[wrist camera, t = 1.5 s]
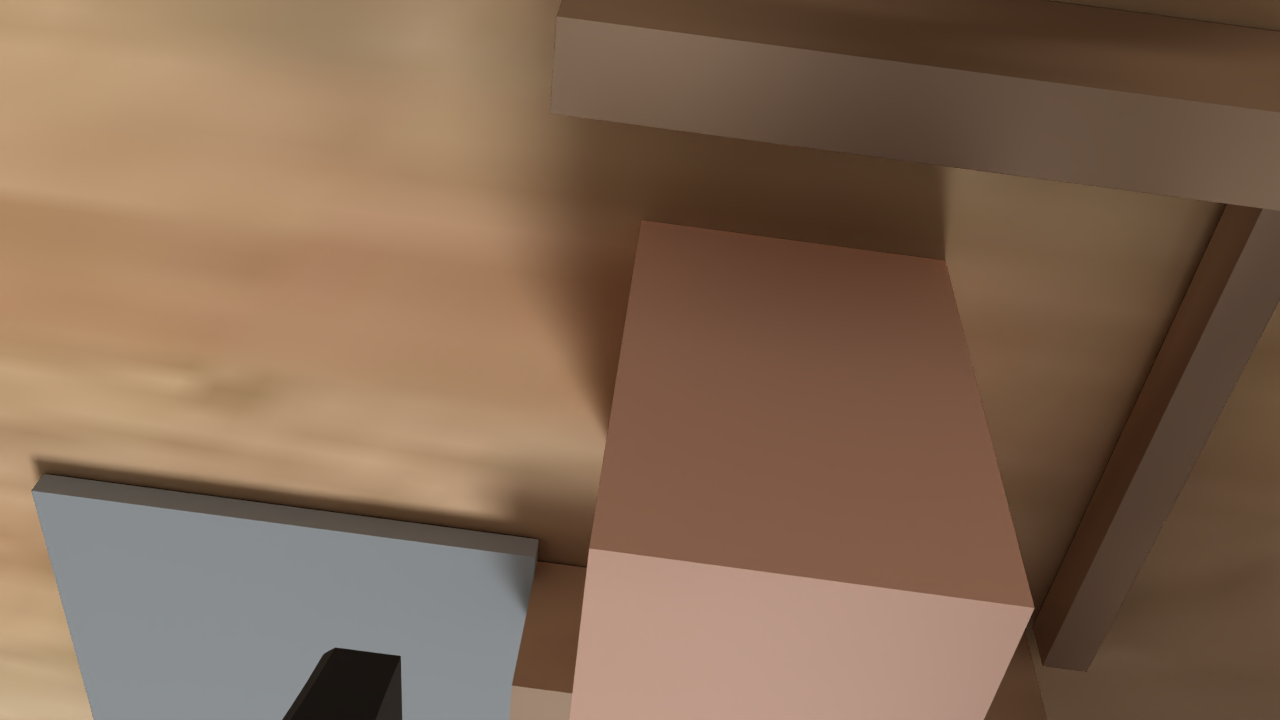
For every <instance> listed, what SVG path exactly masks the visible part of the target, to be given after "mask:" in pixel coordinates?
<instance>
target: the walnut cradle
mask: <svg viewBox="0 0 1280 720" xmlns="http://www.w3.org/2000/svg"><path fill="white" fill-rule="evenodd" d="M550 114H557V115H564V116H572V117H579V118H587V119H594V120H602V121H609V122H617V123H624V124H632V125H639V126H647V127H654V128H662V129H669V130H677V131H684V132H692V133H699V134H707V135H714V136H722V137H729V138H737V139H744V140H752V141H759V142H767V143H774V144H782V145H790V146H797V147H805V148H812V149H820V150H827V151H835V152H842V153H850V154H857V155H865V156H872V157H880V158H887V159H895V160H902V161H910V162H917V163H925V164H932V165H940V166H947V167H955V168H962V169H970V170H977V171H985V172H992V173H1000V174H1007V175H1015V176H1022V177H1030V178H1037V179H1045V180H1052V181H1060V182H1067V183H1075V184H1083V185H1090V186H1098V187H1105V188H1113V189H1120V190H1128V191H1135V192H1143V193H1150V194H1158V195H1165V196H1173V197H1180V198H1188V199H1195V200H1203V201H1210V202H1218V203H1225V204H1227V205H1226V207H1225V210H1224V212H1223V214H1222V216H1221V218H1220V221H1219V223H1218V225H1217V227H1216V229H1215V231H1214V234H1213V236H1212V238H1211V240H1210V242H1209V244H1208V247H1207V249H1206V251H1205V253H1204V255H1203V258H1202V260H1201V262H1200V264H1199V266H1198V268H1197V271H1196V273H1195V275H1194V277H1193V279H1192V281H1191V284H1190V286H1189V288H1188V290H1187V292H1186V294H1185V297H1184V299H1183V301H1182V303H1181V305H1180V308H1179V310H1178V312H1177V314H1176V316H1175V318H1174V321H1173V323H1172V325H1171V327H1170V329H1169V331H1168V334H1167V336H1166V338H1165V340H1164V342H1163V345H1162V347H1161V349H1160V351H1159V353H1158V355H1157V358H1156V360H1155V362H1154V364H1153V366H1152V368H1151V371H1150V373H1149V375H1148V377H1147V379H1146V382H1145V384H1144V386H1143V388H1142V390H1141V392H1140V395H1139V397H1138V399H1137V401H1136V403H1135V405H1134V408H1133V410H1132V412H1131V414H1130V416H1129V418H1128V421H1127V423H1126V425H1125V427H1124V429H1123V432H1122V434H1121V436H1120V438H1119V440H1118V442H1117V445H1116V447H1115V449H1114V451H1113V453H1112V455H1111V458H1110V460H1109V462H1108V464H1107V466H1106V469H1105V471H1104V473H1103V475H1102V477H1101V479H1100V482H1099V484H1098V486H1097V488H1096V490H1095V492H1094V495H1093V497H1092V499H1091V501H1090V503H1089V506H1088V508H1087V510H1086V512H1085V514H1084V516H1083V519H1082V521H1081V523H1080V525H1079V527H1078V529H1077V532H1076V534H1075V536H1074V538H1073V540H1072V542H1071V545H1070V547H1069V549H1068V551H1067V553H1066V556H1065V558H1064V560H1063V562H1062V564H1061V566H1060V569H1059V571H1058V573H1057V575H1056V577H1055V579H1054V582H1053V584H1052V586H1051V588H1050V590H1049V593H1048V595H1047V597H1046V599H1045V601H1044V603H1043V606H1042V608H1041V610H1040V612H1039V614H1038V616H1037V619H1036V621H1035V623H1034V625H1033V630H1034V634H1035V638H1036V642H1037V646H1038V649H1039V653H1040V657H1041V661H1042V665H1043V666H1047V667H1055V668H1062V669H1070V670H1077V671H1085V672H1087V670H1088V668H1089V666H1090V664H1091V663H1092V661H1093V659H1094V657H1095V655H1096V653H1097V651H1098V649H1099V647H1100V645H1101V643H1102V641H1103V639H1104V637H1105V636H1106V634H1107V632H1108V630H1109V628H1110V626H1111V624H1112V622H1113V620H1114V618H1115V616H1116V614H1117V612H1118V610H1119V609H1120V607H1121V605H1122V603H1123V601H1124V599H1125V597H1126V595H1127V593H1128V591H1129V589H1130V587H1131V585H1132V583H1133V582H1134V580H1135V578H1136V576H1137V574H1138V572H1139V570H1140V568H1141V566H1142V564H1143V562H1144V560H1145V558H1146V556H1147V554H1148V553H1149V551H1150V549H1151V547H1152V545H1153V543H1154V541H1155V539H1156V537H1157V535H1158V533H1159V531H1160V529H1161V527H1162V526H1163V524H1164V522H1165V520H1166V518H1167V516H1168V514H1169V512H1170V510H1171V508H1172V506H1173V504H1174V502H1175V500H1176V499H1177V497H1178V495H1179V493H1180V491H1181V489H1182V487H1183V485H1184V483H1185V481H1186V479H1187V477H1188V475H1189V473H1190V472H1191V470H1192V468H1193V466H1194V464H1195V462H1196V460H1197V458H1198V456H1199V454H1200V452H1201V450H1202V448H1203V446H1204V445H1205V443H1206V441H1207V439H1208V437H1209V435H1210V433H1211V431H1212V429H1213V427H1214V425H1215V423H1216V421H1217V419H1218V418H1219V416H1220V414H1221V412H1222V410H1223V408H1224V406H1225V404H1226V402H1227V400H1228V398H1229V396H1230V394H1231V392H1232V391H1233V389H1234V387H1235V385H1236V383H1237V381H1238V379H1239V377H1240V375H1241V373H1242V371H1243V369H1244V367H1245V365H1246V364H1247V362H1248V360H1249V358H1250V356H1251V354H1252V352H1253V350H1254V348H1255V346H1256V344H1257V342H1258V340H1259V338H1260V337H1261V335H1262V333H1263V331H1264V329H1265V327H1266V325H1267V323H1268V321H1269V319H1270V317H1271V315H1272V313H1273V311H1274V309H1275V308H1276V306H1277V304H1278V302H1279V300H1280V32H1279V31H1271V30H1264V29H1256V28H1249V27H1241V26H1234V25H1226V24H1219V23H1211V22H1204V21H1196V20H1189V19H1181V18H1174V17H1167V16H1159V15H1152V14H1144V13H1137V12H1129V11H1122V10H1114V9H1107V8H1099V7H1092V6H1084V5H1077V4H1069V3H1062V2H1054V1H1047V0H563V1H562V3H561V6H560V9H559V11H558V14H557V16H556V31H555V46H554V61H553V76H552V91H551V106H550ZM586 572H587V568H585V567H577V566H570V565H562V564H554V563H547V562H539V561H537V564H536V569H535V574H534V579H533V584H532V589H531V593H530V598H529V603H528V608H527V613H526V618H525V623H524V628H523V633H522V638H521V643H520V648H519V652H518V657H517V662H516V667H515V672H514V677H513V682H512V689H511V704H510V719H509V720H569V719H570V710H571V701H572V693H573V684H574V675H575V667H576V658H577V649H578V641H579V632H580V623H581V615H582V606H583V598H584V589H585V580H586ZM984 720H1047V718H1046V714H1045V710H1044V706H1043V702H1042V698H1041V694H1040V690H1039V686H1038V682H1037V678H1036V674H1035V670H1034V666H1033V662H1032V658H1031V653H1030V649H1029V645H1028V641H1027V637H1026V633H1025V630H1024V633H1023V635H1022V637H1021V639H1020V641H1019V643H1018V646H1017V648H1016V650H1015V652H1014V654H1013V657H1012V659H1011V661H1010V663H1009V665H1008V668H1007V670H1006V672H1005V674H1004V676H1003V679H1002V681H1001V683H1000V685H999V687H998V690H997V692H996V694H995V696H994V698H993V701H992V703H991V705H990V707H989V709H988V712H987V714H986V716H985V718H984Z"/></svg>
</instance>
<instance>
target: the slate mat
mask: <svg viewBox="0 0 1280 720" xmlns="http://www.w3.org/2000/svg"><path fill="white" fill-rule="evenodd" d="M32 495H33V499H34V502H35V506H36V510H37V513H38V517H39V521H40V524H41V528H42V532H43V535H44V539H45V543H46V546H47V550H48V554H49V557H50V561H51V565H52V568H53V572H54V576H55V579H56V583H57V587H58V590H59V594H60V598H61V601H62V605H63V609H64V612H65V616H66V620H67V623H68V627H69V631H70V634H71V638H72V642H73V645H74V649H75V653H76V656H77V660H78V664H79V667H80V671H81V675H82V678H83V682H84V686H85V689H86V693H87V697H88V700H89V704H90V707H91V711H92V715H93V718H94V720H282V719H283V718H284V716H285V715H286V713H287V712H288V710H289V709H290V707H291V706H292V704H293V702H294V701H295V699H296V698H297V696H298V695H299V693H300V692H301V690H302V688H303V687H304V685H305V684H306V682H307V681H308V679H309V677H310V676H311V674H312V672H313V671H314V669H315V667H316V666H317V664H318V662H319V661H320V659H321V657H322V655H323V654H324V653H326V652H328V651H330V650H331V649H333V648H335V647H336V648H344V649H351V650H359V651H367V652H374V653H382V654H390V655H398V656H401V683H402V720H509V719H510V704H511V689H512V682H513V677H514V672H515V667H516V662H517V657H518V652H519V648H520V643H521V638H522V633H523V628H524V623H525V618H526V613H527V608H528V603H529V598H530V593H531V589H532V584H533V579H534V574H535V569H536V564H537V556H538V543H539V539H532V538H524V537H517V536H509V535H502V534H494V533H487V532H479V531H471V530H464V529H456V528H449V527H441V526H434V525H426V524H419V523H411V522H403V521H396V520H388V519H381V518H373V517H366V516H358V515H351V514H343V513H335V512H328V511H320V510H313V509H305V508H298V507H290V506H283V505H275V504H268V503H260V502H252V501H245V500H237V499H230V498H222V497H215V496H207V495H200V494H192V493H184V492H177V491H169V490H162V489H154V488H147V487H139V486H132V485H124V484H116V483H109V482H101V481H94V480H86V479H79V478H71V477H64V476H56V475H48V474H43V476H42V477H41V478H40V480H39V481H38V482H37V484H36V485H35V486H34V488H33V489H32Z"/></svg>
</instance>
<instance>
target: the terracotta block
mask: <svg viewBox="0 0 1280 720" xmlns="http://www.w3.org/2000/svg"><path fill="white" fill-rule="evenodd" d="M1033 611H1034V604H1033V600H1032V596H1031V592H1030V588H1029V584H1028V580H1027V576H1026V573H1025V569H1024V565H1023V561H1022V557H1021V553H1020V549H1019V545H1018V541H1017V538H1016V534H1015V530H1014V526H1013V522H1012V518H1011V514H1010V510H1009V506H1008V503H1007V499H1006V495H1005V491H1004V487H1003V483H1002V479H1001V475H1000V472H999V468H998V464H997V460H996V456H995V452H994V448H993V444H992V440H991V437H990V433H989V429H988V425H987V421H986V417H985V413H984V409H983V405H982V402H981V398H980V394H979V390H978V386H977V382H976V378H975V374H974V370H973V367H972V363H971V359H970V355H969V351H968V347H967V343H966V339H965V335H964V332H963V328H962V324H961V320H960V316H959V312H958V308H957V304H956V300H955V297H954V293H953V289H952V285H951V281H950V277H949V273H948V269H947V266H946V262H945V260H937V259H930V258H922V257H915V256H907V255H900V254H892V253H885V252H877V251H870V250H862V249H855V248H847V247H840V246H832V245H824V244H817V243H809V242H802V241H794V240H787V239H779V238H772V237H764V236H757V235H749V234H742V233H734V232H727V231H719V230H712V229H704V228H697V227H689V226H682V225H674V224H667V223H659V222H651V221H644V220H641V225H640V231H639V238H638V244H637V250H636V256H635V263H634V269H633V275H632V282H631V288H630V294H629V301H628V307H627V313H626V319H625V326H624V332H623V338H622V345H621V351H620V357H619V364H618V370H617V376H616V383H615V389H614V395H613V401H612V408H611V414H610V420H609V427H608V433H607V439H606V446H605V452H604V458H603V464H602V471H601V477H600V483H599V490H598V496H597V502H596V509H595V515H594V521H593V528H592V534H591V540H590V546H589V554H588V563H587V572H586V580H585V589H584V598H583V606H582V615H581V623H580V632H579V641H578V649H577V658H576V667H575V675H574V684H573V693H572V701H571V710H570V719H569V720H984V718H985V716H986V714H987V712H988V709H989V707H990V705H991V703H992V701H993V698H994V696H995V694H996V692H997V690H998V687H999V685H1000V683H1001V681H1002V679H1003V676H1004V674H1005V672H1006V670H1007V668H1008V665H1009V663H1010V661H1011V659H1012V657H1013V654H1014V652H1015V650H1016V648H1017V646H1018V643H1019V641H1020V639H1021V637H1022V635H1023V633H1024V630H1025V628H1026V626H1027V624H1028V622H1029V619H1030V617H1031V615H1032V613H1033Z"/></svg>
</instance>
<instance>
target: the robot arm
mask: <svg viewBox="0 0 1280 720" xmlns="http://www.w3.org/2000/svg"><path fill="white" fill-rule="evenodd" d="M282 720H402V683H401V656H398V655H390V654H382V653H374V652H367V651H359V650H351V649H344V648H336V647H335V648H333V649H331V650H330V651H328V652H326V653H324V654H323V655H322V657H321V659H320V661H319V662H318V664H317V666H316V667H315V669H314V671H313V672H312V674H311V676H310V677H309V679H308V681H307V682H306V684H305V685H304V687H303V688H302V690H301V692H300V693H299V695H298V696H297V698H296V699H295V701H294V702H293V704H292V706H291V707H290V709H289V710H288V712H287V713H286V715H285V716H284V718H283V719H282Z"/></svg>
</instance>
